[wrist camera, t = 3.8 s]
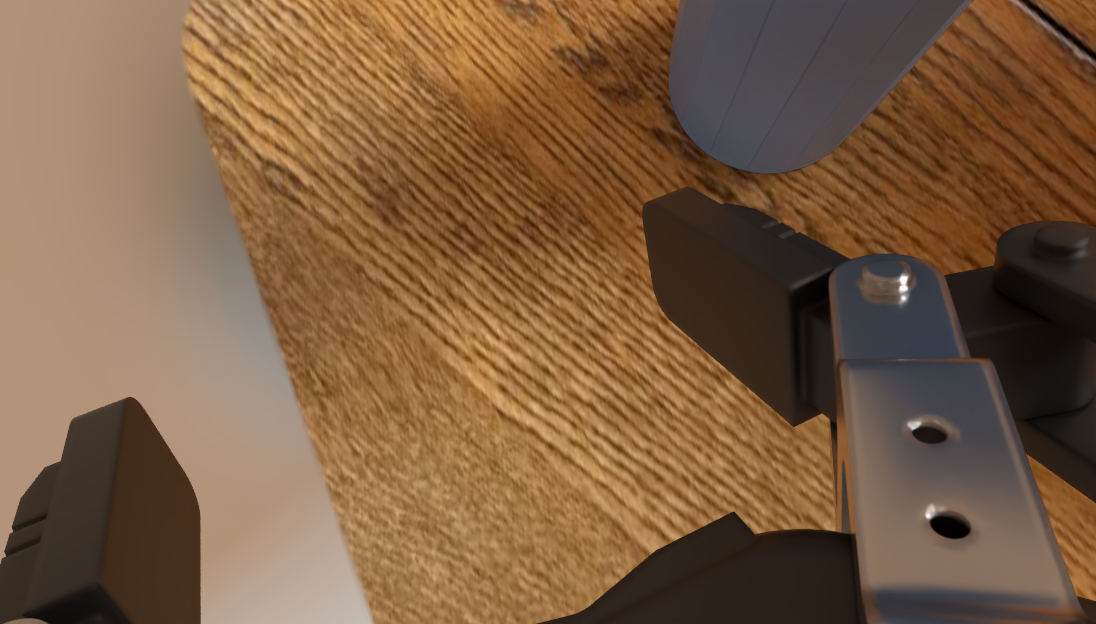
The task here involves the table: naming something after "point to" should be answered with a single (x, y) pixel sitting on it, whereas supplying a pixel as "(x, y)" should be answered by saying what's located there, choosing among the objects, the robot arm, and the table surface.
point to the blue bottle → (792, 72)
